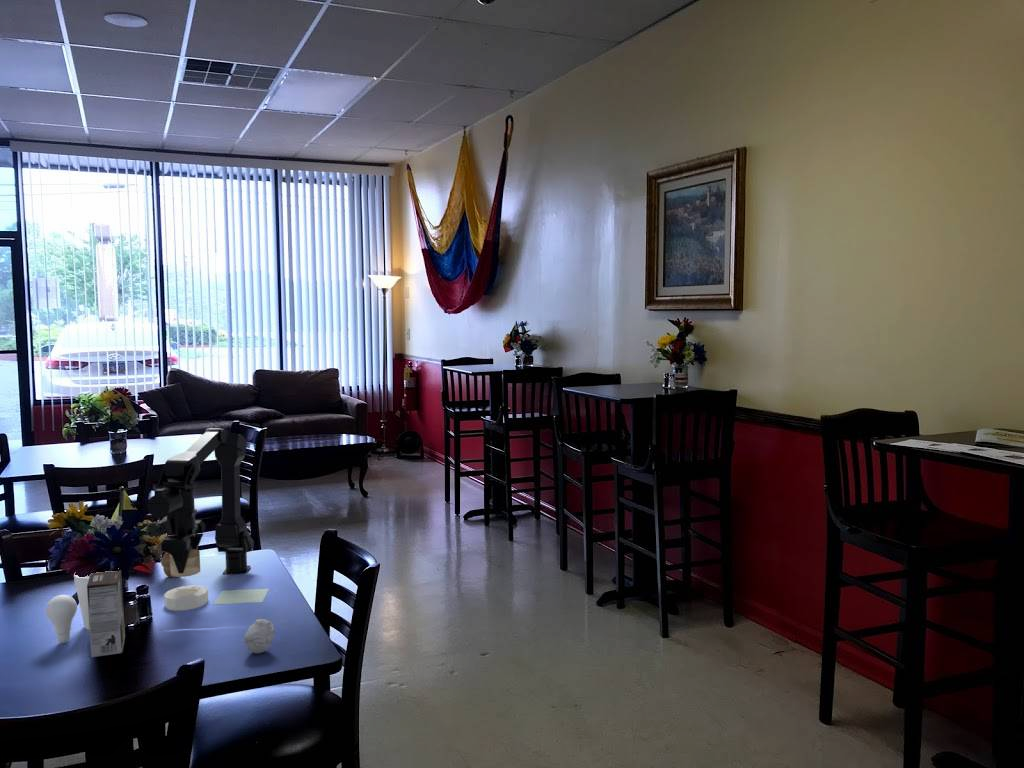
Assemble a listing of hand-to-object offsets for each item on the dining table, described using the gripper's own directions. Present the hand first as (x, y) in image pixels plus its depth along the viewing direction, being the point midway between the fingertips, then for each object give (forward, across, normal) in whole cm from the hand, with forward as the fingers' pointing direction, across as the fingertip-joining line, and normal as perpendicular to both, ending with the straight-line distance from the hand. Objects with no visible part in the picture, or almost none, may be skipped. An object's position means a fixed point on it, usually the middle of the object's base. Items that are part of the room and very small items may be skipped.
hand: (185, 568), depth 204 cm
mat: (+9, -3, +13) cm, 16 cm away
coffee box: (+10, +25, -10) cm, 29 cm away
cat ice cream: (+10, -23, -10) cm, 27 cm away
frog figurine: (+10, +32, +24) cm, 41 cm away
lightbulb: (+10, +21, -21) cm, 31 cm away
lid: (+1, 0, 0) cm, 1 cm away
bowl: (+9, 0, 0) cm, 9 cm away
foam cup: (+10, +11, -17) cm, 22 cm away
